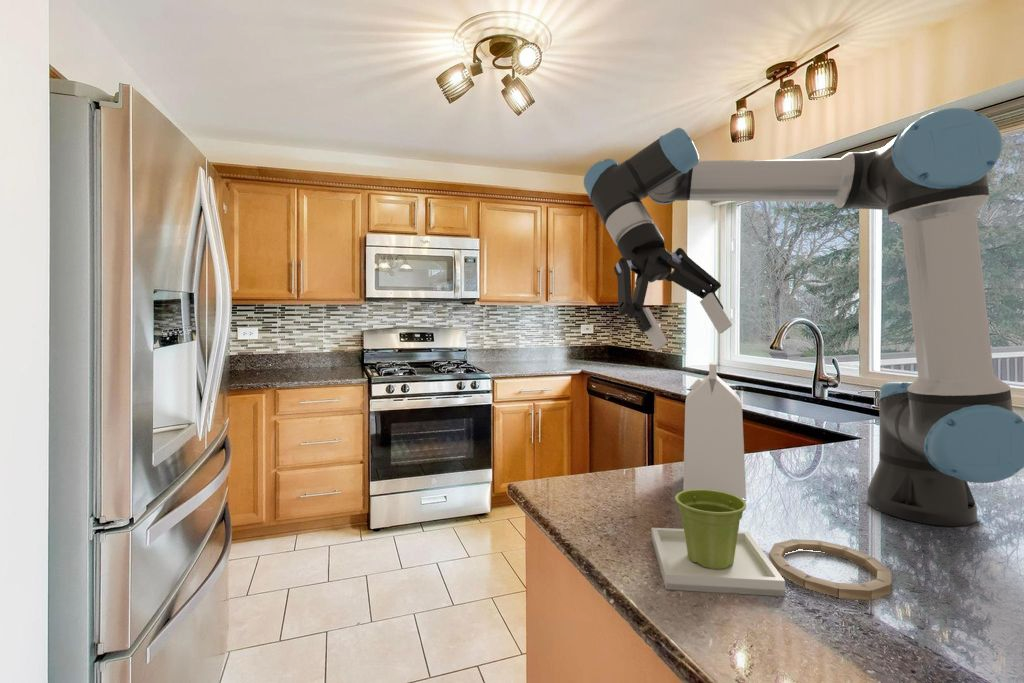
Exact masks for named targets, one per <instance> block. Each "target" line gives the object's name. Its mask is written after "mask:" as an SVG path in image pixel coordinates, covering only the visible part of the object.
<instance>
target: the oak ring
mask: <svg viewBox="0 0 1024 683" xmlns="http://www.w3.org/2000/svg"><path fill="white" fill-rule="evenodd" d="M798 549H803V550H813V551H821V552H825V553H828V554H827V555H829V554H832V555H831V556H833V555H836V556H835V557H837V556H840V557H839V558H842V557H845V558H846V560H847V559H849V560H848V561H850V560H851V561H850V562H852V561H853V563H854V562H855V563H854V564H856V563H857V565H859V566H861V567H864V568H865V569H867V570H868V571H869V573H871V574H872V575H873V576H874V577H876V579H872V580H869V581H867V582H863V583H849V582H848V583H847V582H835V581H832V580H828V579H824V578H819V577H815V576H813V575H809V574H808V573H805V572H803V571H801V570H799V569H797V568H796V567H793V566H792V565H790V564H789V563H788V561H787V560H786V559H785V557H784V555H785V553H788V552H792V551H796V550H798ZM825 553H824V554H825ZM785 556H786V555H785ZM783 557H784V558H783ZM845 558H844V559H845ZM768 559H769V560H770V561H771V563H772V564H773V565H774V567H775V568H776V569H777V571H778V572H779V573H780V575H782V576H783V578H784V577H785V578H784V579H786V578H787V579H790V580H791V581H793V582H795V583H796V584H795V583H794V584H795V585H797V584H798V585H800V586H802V587H803V588H802V587H801V588H802V589H805V588H806V589H805V590H807V589H809V590H808V591H811V590H813V591H812V592H815V591H817V592H816V593H818V592H819V594H822V593H825V594H827V595H826V596H829V595H832V596H835V597H834V598H836V597H837V598H836V599H844V598H845V599H847V600H862V601H864V600H865V601H873V600H875V599H879V598H882V597H884V596H887V595H890V594H891V593H892V586H893V585H892V584H893V583H892V582H893V581H892V580H893V576H892V575H893V572H892V570H891V569H889V568H888V567H887V566H885V565H884V564H883V563H882V562H881V561H879V560H878V559H877V558H876V557H873V556H871V555H869V554H866V553H864V552H861V551H859V550H857V549H855V548H852V547H849V546H846V545H841V544H836V543H833V542H827V541H824V540H817V539H799V538H798V539H795V538H794V539H786V540H784V541H780V542H776V543H774V544H773V546H772V547H771V549H770V551H769V553H768ZM787 579H786V580H787ZM791 581H790V582H791ZM793 582H792V583H793ZM798 585H797V586H798ZM800 586H799V587H800ZM804 587H805V588H804ZM825 594H824V595H825ZM832 596H831V597H832ZM838 597H839V598H838Z"/></svg>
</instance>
